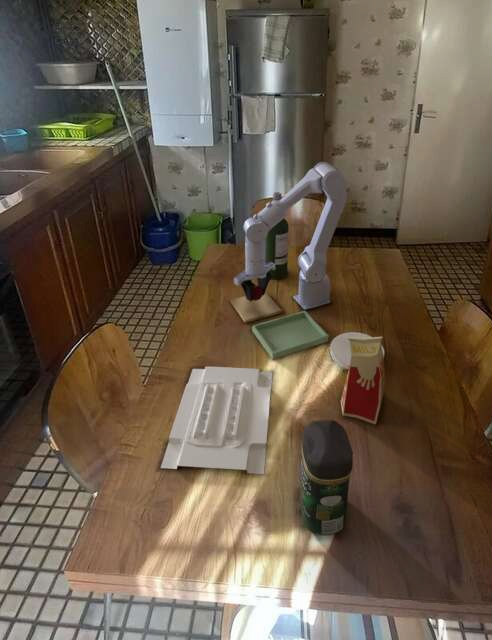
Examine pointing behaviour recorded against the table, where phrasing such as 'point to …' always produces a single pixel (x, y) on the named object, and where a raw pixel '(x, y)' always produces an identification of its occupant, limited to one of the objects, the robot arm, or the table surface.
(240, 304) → the board
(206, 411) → the tray
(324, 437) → the coffee jar
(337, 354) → the plastic lid
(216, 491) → the table surface
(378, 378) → the milk carton
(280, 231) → the wine bottle
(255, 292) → the plum
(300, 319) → the tray
